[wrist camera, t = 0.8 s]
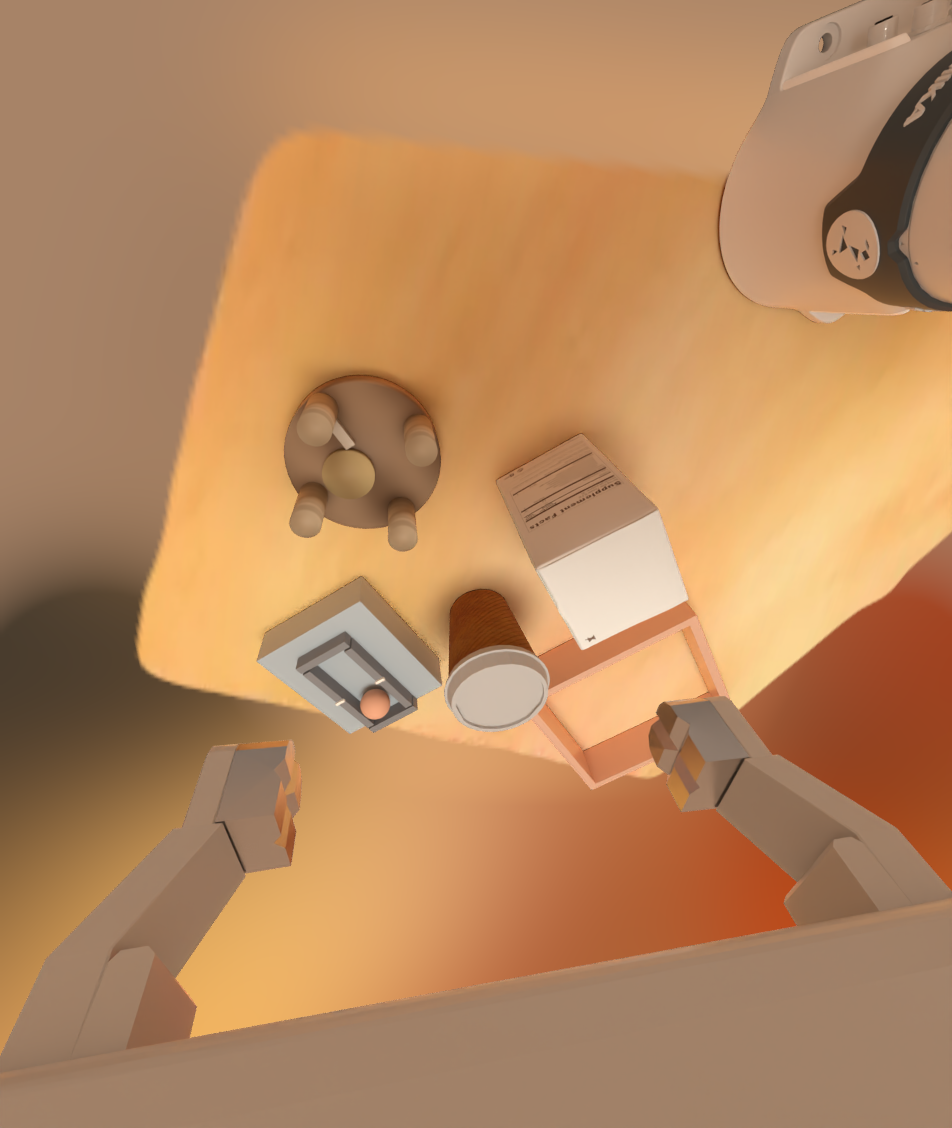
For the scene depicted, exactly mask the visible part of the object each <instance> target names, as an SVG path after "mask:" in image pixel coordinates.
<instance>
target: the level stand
mask: <svg viewBox="0 0 952 1128" xmlns="http://www.w3.org/2000/svg"><path fill="white" fill-rule="evenodd" d="M257 662H258V663H259V664H261V665H262V666H263V667H264V668H266V669H267V670H268V671H270V672H271V673H272V674H273V675H275V676H276V677H277V678H279V679H280V680H281V681H282V682H284V683H285V684H286V685H288V686H289V687H290V688H292V689H293V690H294V691H295V692H297V693H298V694H299V695H301V696H302V697H303V698H304V699H306V700H307V701H308V702H310V703H311V704H312V705H313V706H315V707H316V708H317V709H319V710H320V711H321V712H322V713H324V714H325V715H326V716H328V717H329V718H330V719H332V720H333V721H334V722H336V723H337V724H338V725H339V726H341V727H342V728H343V729H344V730H346V731H347V732H348V733H350V734H351V733H353V732H355V731H356V730H358V729H360V728H362V727H364V726H366V727H367V728H369V729H370V730H371V731H372V732H373V733H374V732H376V731H378V730H380V729H382V728H384V727H386V726H388V725H389V724H391V723H393V722H395V721H397V720H399V719H401V718H403V717H405V716H407V715H409V714H411V713H412V712H414V711H416V710H418V709H417V698H419V697H421V696H423V695H425V694H427V693H429V692H431V691H432V690H434V689H436V688H438V687H440V686H442V681H441V672H440V664H439V658H438V657H437V656H436V655H435V654H434V653H433V652H432V651H431V650H430V649H429V648H428V647H427V645H426V644H425V643H424V642H423V641H422V640H421V639H420V638H419V637H418V636H417V635H416V634H415V633H414V632H413V630H412V629H411V628H410V627H409V626H408V625H407V624H406V623H405V622H404V621H403V620H402V619H401V618H400V616H399V615H398V614H397V613H396V612H395V611H394V610H393V609H392V608H391V607H390V606H389V605H388V604H387V603H386V601H385V600H384V599H383V598H382V597H381V596H380V595H379V594H378V593H377V592H376V591H375V590H374V589H373V587H372V586H371V585H370V584H369V583H368V582H367V581H366V580H365V579H364V578H363V577H362V576H361V577H359V578H358V579H356V580H354V581H353V582H351V583H349V584H348V585H346V586H344V587H342V588H341V589H339V590H337V591H336V592H334V593H332V594H331V595H329V596H327V597H325V598H324V599H322V600H320V601H319V602H317V603H315V604H314V605H312V606H310V607H309V608H307V609H305V610H303V611H302V612H300V613H298V614H297V615H295V616H293V617H292V618H290V619H288V620H287V621H285V622H283V623H281V624H280V625H278V626H276V627H275V628H273V629H271V630H270V631H268V632H266V633H265V635H264V638H263V642H262V645H261V648H260V651H259V655H258V658H257ZM372 689H380V690H383V691H384V692H386V693H387V695H388V696H389V698H390V708H389V711H388V712H387V714H386V715H385V716H383V717H382V718H380V719H369V718H367V717H366V716H365V715H364V714H363V713H362V711H361V708H360V702H361V699H362V697H363V695H364V694H365V693H366V692H367V691H369V690H372Z"/></svg>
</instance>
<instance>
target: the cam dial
mask: <svg viewBox="0 0 952 1128" xmlns="http://www.w3.org/2000/svg"><path fill="white" fill-rule="evenodd" d="M284 458H285V464H286V469H287V472H288V475H289V478H290V480H291V482H292V484H293V486H294V488H295V489H296V491H297V493H298V494H299V495H298V497H297V500H296V503H295V506H294V509H293V512H292V515H291V518H290V522H289V524H290V528H291V530H292V531H293V532H294V533H295V534H296V535H298V536H300V537H304V538H309V537H313V536H315V535H317V534H318V533H319V532H320V530H321V526H322V522H323V517H325V518H327V519H329V520H331V521H333V522H336V523H338V524H342V525H345V526H349V527H354V528H363V529H372V528H381V527H386V526H388V541H389V544H390V546H391V547H392V548H393V549H395V550H397V551H408V550H411V549H412V548H413V547H414V546H415V545H416V543H417V529H416V519H415V513H416V512H417V511H418V510H419V509H420V508H421V507H422V506H423V505H424V504H425V503H426V501H427V500H428V499H429V497H430V496H431V494H432V493H433V491H434V488H435V486H436V484H437V481H438V478H439V473H440V466H441V456H440V448H439V444H438V440H437V436H436V432H435V428H434V426H433V423H432V421H431V419H430V417H429V415H428V413H427V412H426V410H425V409H424V408H423V406H422V405H421V404H420V403H419V401H418V400H417V399H416V398H415V397H414V396H412V395H411V394H410V393H409V392H407V391H406V390H405V389H403V388H402V387H400V386H398V385H397V384H394V383H392V382H390V381H388V380H385V379H381V378H378V377H373V376H367V375H353V376H344V377H340V378H336V379H334V380H331V381H329V382H326V383H324V384H323V385H321V386H319V387H317V388H316V389H315V390H314V391H312V392H311V393H310V394H309V395H308V396H307V397H306V398H305V399H304V400H303V402H302V403H301V405H300V406H299V408H298V409H297V411H296V413H295V415H294V417H293V419H292V421H291V423H290V425H289V427H288V431H287V434H286V438H285V445H284Z"/></svg>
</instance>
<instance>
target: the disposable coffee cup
mask: <svg viewBox="0 0 952 1128" xmlns="http://www.w3.org/2000/svg"><path fill="white" fill-rule="evenodd" d="M449 637H450V639H449V677H448V679H447V682H446V686H445V690H444V696H445V701H446V704H447V706H448V708H449V709H450V710H451V711H452V712H453V714H454V716H455V717H456V718H457V720H458V721H459V722H460V723H462V724H463V725H465V726H466V727H468V728H471V729H474V730H477V731H485V732H497V731H503V730H508V729H512V728H515V727H517V726H520V725H522V724H524V723H526V722H527V721H529V720H530V719H532V718H533V717H534V716H535V715H537V714H538V713H539V711H540V710H541V709H542V708H543V706H544V704H545V703H546V700H547V697H548V688H549V683H550V676H549V672H548V669H547V667H546V666H545V664H544V663H543V662H542V661H541V660H540V659H539V658H538V657H537V656H536V655H535V654H534V652H533V650H532V648H531V646H530V645H529V643H528V641H527V639H526V637H525V635H524V634H523V632H522V630H521V628H520V626H519V625H518V623H517V621H516V619H515V618H514V616H513V614H512V612H511V610H510V608H509V606H508V605H507V602H506V601H505V599H504V598H503V597H502V596H501V595H500V594H498V593H497V592H494V591H491V590H474V591H471V592H468V593H466V594H464V595H462V596H461V597H459V598H458V599H457V600H456V601H455V603H454V604H453V606H452V608H451V610H450V636H449Z"/></svg>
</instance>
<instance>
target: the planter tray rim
mask: <svg viewBox="0 0 952 1128" xmlns="http://www.w3.org/2000/svg"><path fill="white" fill-rule="evenodd" d="M680 630H682V631H683V634H684V636H685V638H686V640H687V643H688V645H689V647H690V650H691V652H692V654H693V656H694V659H695V661H696V663H697V666H698V668H699V670H700V673H701V675H702V677H703V679H704V682H705V684H706V686H707V689H708V691H709V692H708V693H706V694H704V695H701V696H699V697H697V698H707V697H716V696H726V697H727V698H729V695H728V693H727V690H726V688H725V685H724V683H723V680H722V678H721V675H720V673H719V670H718V668H717V665H716V663H715V660H714V658H713V655H712V653H711V650H710V648H709V645H708V643H707V640H706V638H705V635H704V633H703V630H702V628H701V625H700V623H699V620H698V618H697V615H696V614H695V613H694V612H693V610H692V609H691V608H690V607H689V605H688V604H687V603H686V602H683V603H681V604H679V605H677V606H675V607H673V608H671V609H669V610H667V611H665V612H663V613H660V614H658V615H656V616H654V617H651V618H649V619H647V620H645V621H642V622H640V623H638V624H636V625H634V626H632V627H630V628H628V629H625V630H623V631H621V632H619V633H617V634H615V635H613V636H611V637H609V638H607V639H605V640H603V641H601V642H599V643H597V644H595V645H593V646H591V647H589V648H587V649H585V650H581V649H580V647H579V646H578V644H577V642H576V640H575V639H574V638H573V639H571V640H569V641H567V642H566V643H564V644H562V645H560V646H558V647H556V648H554V649H552V650H550V651H548V652H546V653H544V654H542V655H540V656H538V658H539V659H540V660H541V661H542V662H543V663H544V664H545V666H546V667H547V669H548V672H549V676H550V683H549V688H548V696H550V695H552V694H554V693H556V692H558V691H560V690H562V689H564V688H566V687H568V686H570V685H572V684H574V683H576V682H578V681H580V680H582V679H584V678H586V677H588V676H590V675H592V674H594V673H596V672H598V671H600V670H602V669H604V668H606V667H608V666H610V665H612V664H614V663H616V662H618V661H620V660H622V659H624V658H626V657H628V656H630V655H632V654H634V653H636V652H638V651H640V650H642V649H644V648H646V647H648V646H650V645H652V644H654V643H656V642H658V641H660V640H662V639H664V638H666V637H668V636H670V635H672V634H674V633H676V632H678V631H680ZM729 699H730V698H729ZM531 720H532V721H533V722H534V723H535V724H536V725H537V727H538V728H539V729H540V730H541V731H542V732H543V734H544V735H545V736H546V737H547V738H548V739H549V741H550V742H551V743H552V744H553V745H554V747H555V748H556V749H557V750H558V751H559V752H560V754H561V755H562V756H563V757H564V758H565V759H566V761H567V762H568V763H569V764H570V765H571V766H572V768H573V769H574V770H575V771H576V772H577V773H578V775H579V776H580V777H581V778H582V779H583V780H584V782H585V783H586V784H587V785H588V786H589V788H591V790H593V789H595V788H597V787H599V786H601V785H604V784H606V783H608V782H610V781H613V780H615V779H617V778H619V777H621V776H624V775H626V774H628V773H630V772H632V771H634V770H637V769H639V768H641V767H643V766H645V765H648V764H650V763H652V762H654V759H653V757H652V754H651V751H650V748H649V737H648V735H649V732H650V728H651V725H653V724H654V723H655V722H656V721H657V720H659V717H658V716H657V717H655V718H653V719H651V720H649V721H646V722H644V723H642V724H640V725H638V726H636V727H634V728H632V729H629V730H627V731H625V732H623V733H621V734H619V735H617V736H615V737H613V738H610V739H608V740H606V741H604V742H602V743H600V744H598V745H596V746H593V747H591V748H589V749H587V750H585V751H583V750H582V749H581V748H580V747H579V745H578V744H577V743H576V742H575V740H574V739H573V738H572V737H571V735H570V734H569V733H568V732H567V730H566V729H565V728H564V727H563V725H562V724H561V723H560V721H559V720H558V719H557V718H556V716H555V715H554V714H553V713H552V711H551V710H550V709H549V708H548V706H547V705H546V704H544V706H543V708H542V709H541V710H540V711H539V713H538V714H537V715H535V716H534V717H533V718H532V719H531Z"/></svg>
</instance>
